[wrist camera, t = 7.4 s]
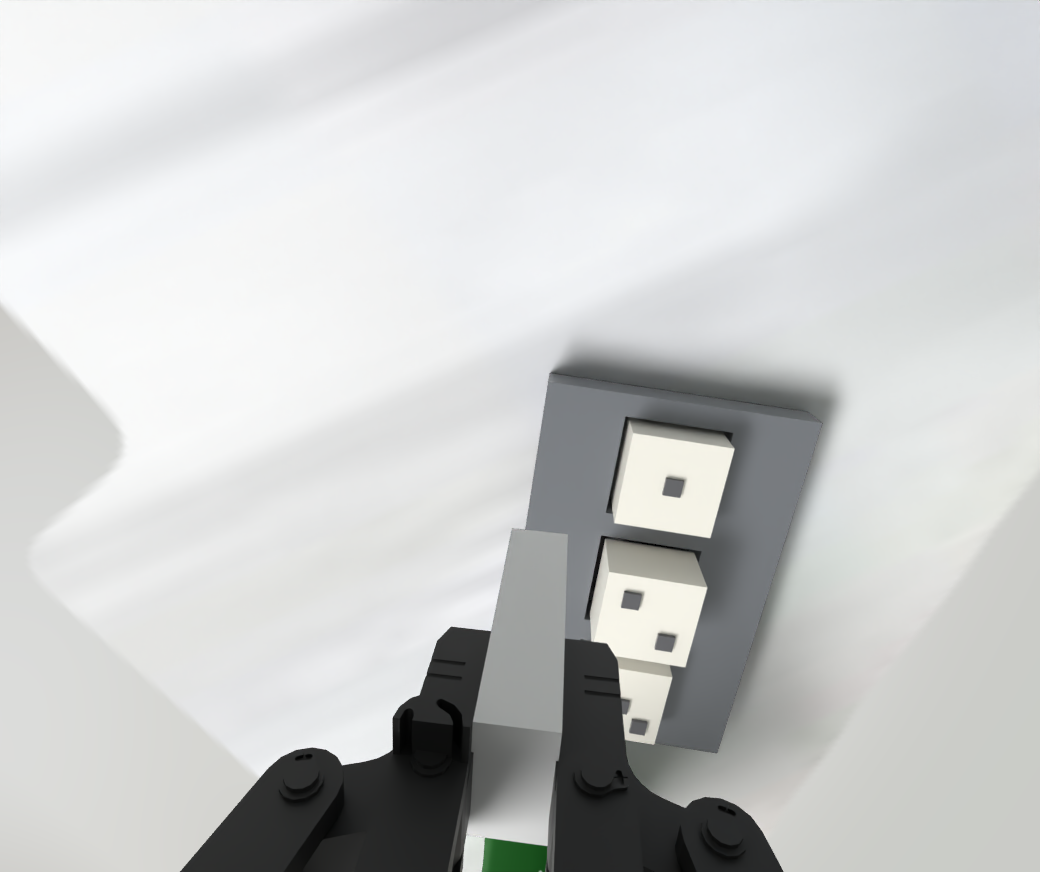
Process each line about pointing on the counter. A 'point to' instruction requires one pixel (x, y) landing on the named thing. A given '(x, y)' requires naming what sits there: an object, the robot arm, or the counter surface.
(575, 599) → the keypad board
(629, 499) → the key one
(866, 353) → the counter surface
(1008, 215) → the counter surface
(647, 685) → the key three
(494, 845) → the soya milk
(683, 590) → the key two
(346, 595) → the counter surface
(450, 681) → the robot arm
